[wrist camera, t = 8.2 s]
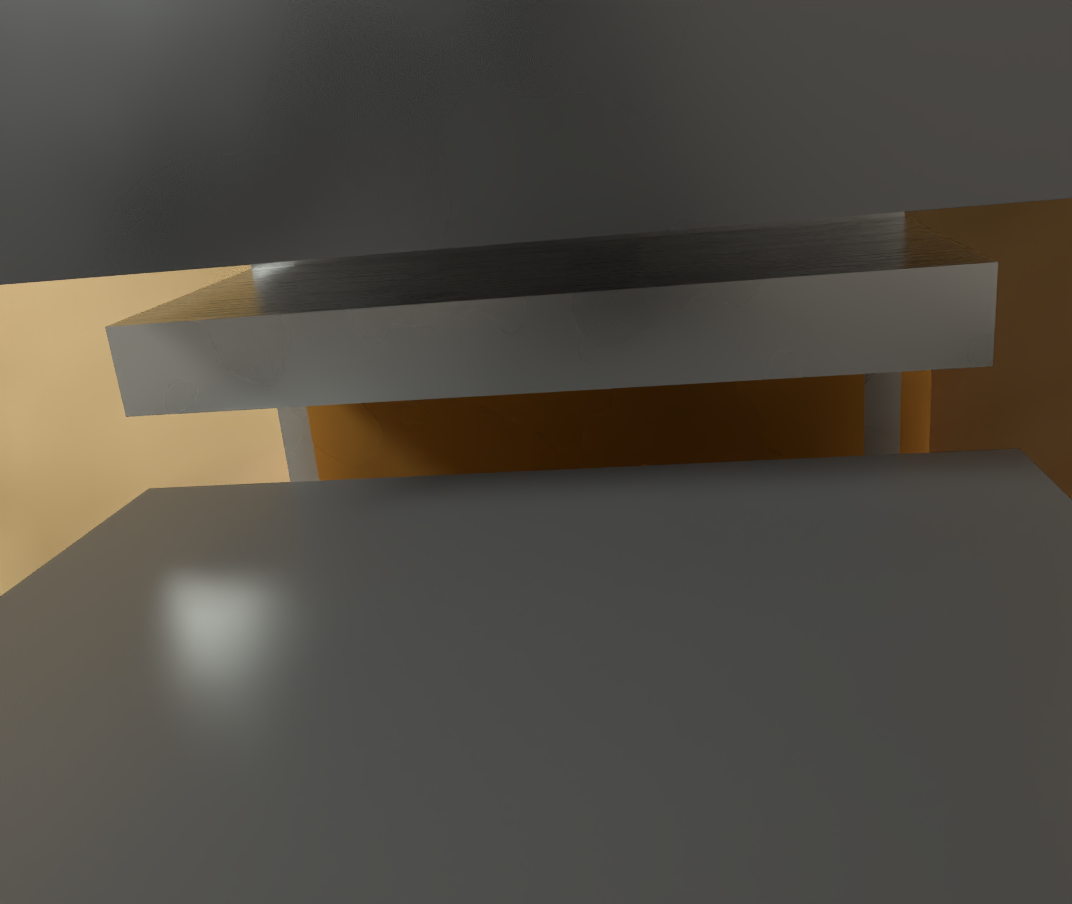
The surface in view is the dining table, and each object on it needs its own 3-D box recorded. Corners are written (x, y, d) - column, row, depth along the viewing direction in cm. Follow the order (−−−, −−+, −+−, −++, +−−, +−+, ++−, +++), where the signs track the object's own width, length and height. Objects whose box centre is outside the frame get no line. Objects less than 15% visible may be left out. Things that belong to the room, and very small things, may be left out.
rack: (139, -318, 13) (-818, -1074, 5) (944, -458, 12) (1672, -1944, 3) (387, 1030, 20) (188, 1686, 12) (902, 1049, 19) (1091, 1815, 10)
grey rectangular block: (148, 488, 12) (-681, 1091, 5) (1019, 448, 11) (1825, 1240, 3) (212, 766, 14) (-365, 1592, 6) (1000, 765, 12) (1549, 1871, 4)
